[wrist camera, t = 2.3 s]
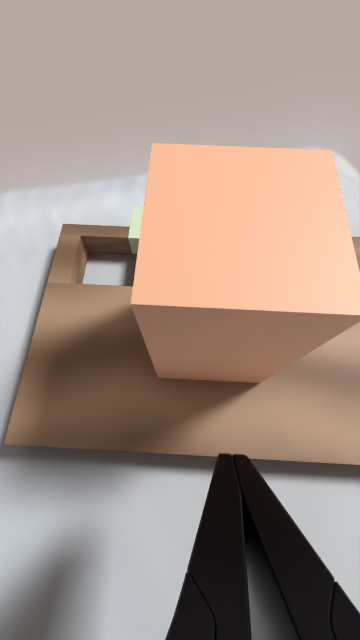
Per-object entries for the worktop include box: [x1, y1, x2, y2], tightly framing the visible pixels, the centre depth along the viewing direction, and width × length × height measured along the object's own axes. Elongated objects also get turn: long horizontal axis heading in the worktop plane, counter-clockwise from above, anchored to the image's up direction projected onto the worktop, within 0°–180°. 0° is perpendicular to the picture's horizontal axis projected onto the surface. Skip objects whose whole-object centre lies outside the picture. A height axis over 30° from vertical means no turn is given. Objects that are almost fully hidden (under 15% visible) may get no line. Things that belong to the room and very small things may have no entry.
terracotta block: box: [131, 143, 360, 383], centre depth 13 cm, size 6×6×10 cm
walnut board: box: [4, 224, 360, 465], centre depth 18 cm, size 15×22×2 cm
